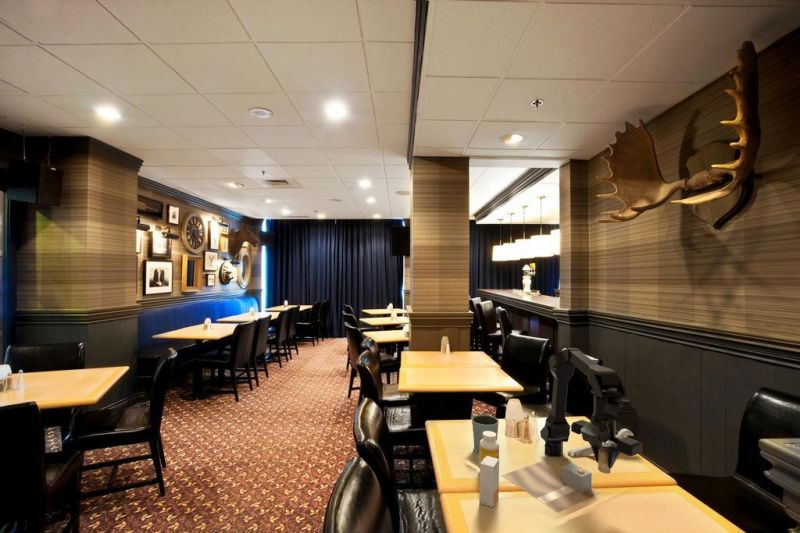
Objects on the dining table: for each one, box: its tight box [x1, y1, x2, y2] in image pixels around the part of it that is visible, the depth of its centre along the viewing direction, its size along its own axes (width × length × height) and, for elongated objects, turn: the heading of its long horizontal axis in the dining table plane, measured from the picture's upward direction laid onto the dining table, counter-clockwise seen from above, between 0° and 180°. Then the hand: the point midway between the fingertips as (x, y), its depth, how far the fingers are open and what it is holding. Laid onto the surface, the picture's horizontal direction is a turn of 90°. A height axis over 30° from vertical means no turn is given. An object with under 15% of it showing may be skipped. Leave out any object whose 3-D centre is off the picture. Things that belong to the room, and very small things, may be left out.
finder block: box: [561, 462, 593, 493], centre depth 121 cm, size 5×7×5 cm
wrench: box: [567, 428, 634, 458], centre depth 144 cm, size 8×2×30 cm
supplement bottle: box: [478, 431, 500, 469], centre depth 131 cm, size 7×7×13 cm
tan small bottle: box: [597, 445, 612, 474], centre depth 112 cm, size 3×3×7 cm
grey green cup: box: [471, 414, 499, 454], centre depth 146 cm, size 10×10×12 cm
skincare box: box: [479, 456, 500, 508], centre depth 114 cm, size 6×4×12 cm
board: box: [501, 460, 601, 513], centre depth 122 cm, size 20×22×1 cm
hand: (604, 465), depth 112 cm, fingers closed on tan small bottle, 3 cm apart
